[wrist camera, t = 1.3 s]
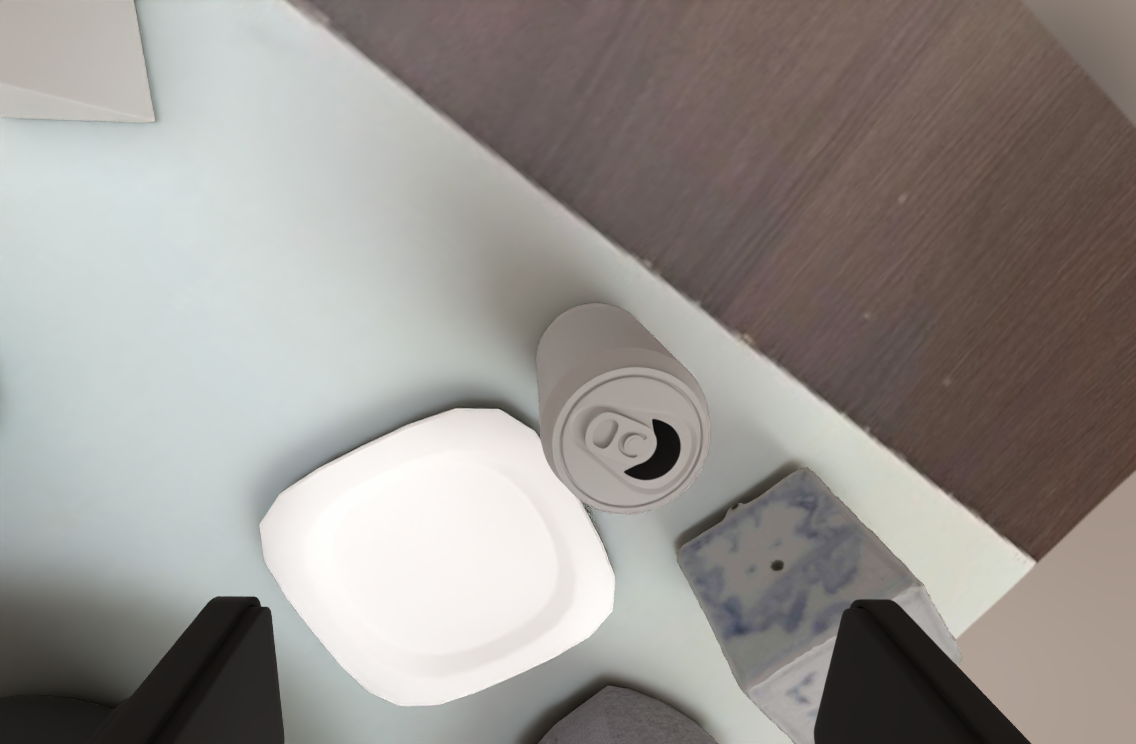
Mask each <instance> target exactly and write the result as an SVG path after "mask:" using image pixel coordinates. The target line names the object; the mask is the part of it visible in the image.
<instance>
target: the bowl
mask: <svg viewBox="0 0 1136 744" xmlns="http://www.w3.org/2000/svg"><path fill="white" fill-rule="evenodd" d="M112 711H113V709H110V708H107V707H104V706H101V705H97V704H94V703H90V702H86V701H81V700H76V699H69V698H62V697H54V696H12V697H4V698H0V744H85V743H86V741H87V740H88V739H89V738H90V737H91V736H92V734H93V733H94V732H95V731H96V730H97V728H98V727H99V726H100V725H101V724H102V722H103V721H104V720H105V719H106V718H107V716H108V715H109V714H110V713H111V712H112Z"/></svg>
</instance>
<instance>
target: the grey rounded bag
mask: <svg viewBox="0 0 1136 744" xmlns="http://www.w3.org/2000/svg"><path fill="white" fill-rule="evenodd" d="M538 744H718V743H717V742H716V741H715V740H714V738H713V737H712V736H710V735H709V734H708V733H707V732H706V731H705V730H704V729H702V728H701V727H700V726H699V725H698V724H697V723H696V722H694V721H693V720H692V719H690V718H688V717H687V716H685V715H684V714H682V713H680V712H679V711H677V710H675V709H674V708H672V707H670V706H669V705H667V704H666V703H664V702H662V701H659V700H657V699H654V698H652V697H649V696H647V695H644V694H642V693H639V692H637V691H634V690H632V689H627V688H621V687H615V686H608V685H607V686H606V687H605V688H603V689H602V690H601V691H599V692H598V693H597V694H595V695H594V696H593V697H591V698H590V699H588V700H587V701H586V702H584V703H583V704H582V705H580V706H579V707H578V708H576V709H575V710H574V711H572V712H571V713H570V714H568V715H567V716H565V717H564V718H563V719H561V720H560V721H559V722H557V723H556V724H555V725H554V726H553V727H552V728H551V729H550V730H549V731H548V732H547V734H546V735H545V736H544V737H543V738H542V739H541V740H540V741H539V742H538Z"/></svg>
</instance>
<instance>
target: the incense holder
mask: <svg viewBox="0 0 1136 744" xmlns="http://www.w3.org/2000/svg"><path fill="white" fill-rule="evenodd" d="M676 555H677V562H678V564H679V566H680V568H681V570H682V572H683V573H684V575H685V577H686V578H687V580H688V582H689V584H690V586H691V588H692V590H693V592H694V594H695V596H696V598H697V600H698V602H699V605H700V607H701V608H702V610H703V611H704V613H705V615H706V617H707V620H708V622H709V624H710V626H711V628H712V630H713V632H714V634H715V637H716V639H717V641H718V642H719V644H720V647H721V649H722V652H723V654H724V656H725V658H726V660H727V661H728V663H729V666H730V668H731V671H732V674H733V676H734V678H735V679H736V681H737V683H738V685H739V687H740V689H741V690H742V691H743V692H744V693H745V694H746V696H747V697H748V698H749V699H750V700H751V701H752V702H753V703H754V704H755V705H756V706H757V707H758V708H759V709H760V710H761V711H762V712H763V713H764V714H765V715H766V716H767V717H768V718H769V719H770V720H771V721H772V722H774V723H775V724H776V725H777V726H778V727H779V728H780V730H782V731H783V732H784V733H785V734H787V736H788V737H789V738H790V739H791V740H792V741H793V743H794V744H815V741H814V726H815V722H816V718H817V714H818V710H819V706H820V702H821V698H822V694H823V690H824V686H825V682H826V678H827V674H828V670H829V666H830V661H831V657H832V653H833V649H834V645H835V641H836V637H837V633H838V629H839V625H840V621H841V617H842V614H843V611H844V610H845V609H848V608H850V606H851V604H852V603H853V602H854V601H855V600H858V599H889V600H892V601H895V602H896V603H897V604H898V605H900V606H901V607H902V609H903V610H904V611H905V612H906V613H907V614H908V615H909V616H910V617H911V618H912V619H913V620H914V621H915V622H916V623H917V624H918V625H919V626H920V627H921V628H922V630H923V631H924V632H925V633H926V634H927V635H928V636H929V637H930V638H931V639H932V640H933V641H934V642H935V643H936V644H937V645H938V646H939V647H940V648H941V649H942V651H943V652H944V653H945V654H946V655H947V656H948V657H949V658H950V659H951V660H952V661H953V662H954V663H955V664H956V665H959V664H960V663H961V661H962V658H963V657H962V653H961V651H960V649H959V646H958V644H957V642H956V639H955V638H954V637H953V636H952V635H951V633H950V632H949V630H948V627H947V626H946V624H945V622H944V620H943V619H942V617H941V615H940V614H939V613H938V611H937V608H936V607H935V605H934V603H933V602H932V600H931V597H930V595H929V594H928V593H927V590H926V588H925V586H924V584H923V583H922V582H920V581H919V580H918V579H917V578H916V577H915V576H914V575H913V574H912V572H911V571H910V570H909V569H908V568H907V566H906V565H905V564H904V563H903V562H902V561H901V560H900V559H898V558H897V557H896V556H895V555H894V554H893V553H892V552H891V550H890V549H888V547H887V546H886V545H885V544H884V543H883V542H882V541H881V540H880V539H879V538H878V537H877V536H876V535H875V534H874V533H873V532H872V531H871V530H870V529H869V528H867V527H866V526H865V525H864V524H863V523H862V522H861V521H860V520H859V519H858V518H857V516H856V515H855V514H854V513H853V512H852V511H851V510H850V508H848V507H847V506H846V505H845V504H844V503H843V502H842V501H841V500H840V499H839V497H836V496H835V495H834V494H833V493H832V492H831V491H830V489H829V488H828V487H827V486H826V485H825V483H824V482H822V480H821V479H820V478H819V477H818V476H817V475H816V474H815V473H814V472H813V471H811V470H810V469H809V468H808V467H806V468H801V469H798V470H796V471H794V472H793V473H791V474H790V475H788V476H787V477H785V478H784V479H782V480H781V481H780V482H778V483H777V484H775V485H774V486H772V487H771V488H770V489H769V490H767V491H766V492H765V493H763V494H762V495H761V496H759V497H757V498H756V499H754V500H752V501H751V502H748V503H746V504H742V503H737V504H735V505H732V506H731V507H730V508H729V510H728V511H727V513H726V517H725V518H724V519H723V521H721V522H719V523H718V524H716V525H715V526H713V527H712V528H710V529H708V530H706V531H704V532H703V533H701V534H700V535H699V536H697V537H696V538H694V539H692V540H690V541H689V542H687V543H686V544H684V545H682V547H681V548H680V549H679V550H678V551H677V552H676Z"/></svg>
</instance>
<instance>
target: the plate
mask: <svg viewBox="0 0 1136 744" xmlns="http://www.w3.org/2000/svg"><path fill="white" fill-rule="evenodd" d="M259 527H260V534H261V542H262V549H263V557H264V562H265V563H266V565H267V567H268V568H269V570H270V572H271V573H272V575H273V577H274V578H275V580H276V582H277V583H278V585H279V587H280V588H281V590H282V592H283V593H284V595H285V597H286V598H287V599H288V601H289V602H290V603H291V605H292V606H293V607H294V608H295V610H296V611H297V612H298V614H299V615H300V616H301V617H302V619H303V620H304V621H305V623H306V624H307V625H308V626H309V628H310V629H311V630H312V632H313V633H314V634H315V635H316V637H317V638H318V639H319V640H320V641H321V643H322V644H323V645H324V646H325V647H326V649H327V650H328V651H329V652H330V654H331V655H332V656H333V657H334V658H335V660H336V661H337V662H338V663H339V664H340V665H341V666H342V667H343V668H344V669H345V670H346V671H347V672H348V673H349V674H350V675H351V676H352V677H353V678H354V679H355V680H356V681H357V682H358V683H359V684H360V685H361V686H362V687H363V688H365V689H366V690H367V691H368V692H370V693H372V694H374V695H376V696H379V697H381V698H383V699H385V700H387V701H390V702H392V703H394V704H396V705H398V706H430V705H440V704H443V703H446V702H449V701H452V700H455V699H458V698H461V697H465V696H468V695H471V694H474V693H477V692H479V691H481V690H484V689H486V688H488V687H491V686H493V685H495V684H498V683H500V682H502V681H505V680H507V679H509V678H511V677H514V676H516V675H518V674H520V673H522V672H525V671H527V670H529V669H531V668H533V667H535V666H537V665H540V664H542V663H544V662H546V661H548V660H550V659H552V658H554V657H556V656H558V655H560V654H561V653H563V652H565V651H566V650H568V649H570V648H572V647H573V646H575V645H577V644H578V643H580V642H582V641H583V640H585V639H587V638H589V637H590V636H591V635H592V634H593V633H594V632H595V631H596V629H597V628H598V627H599V626H600V625H601V624H602V622H603V621H604V620H605V619H606V618H607V617H608V615H609V614H610V613H611V612H612V611H613V602H614V591H615V579H616V578H615V576H614V573H613V570H612V567H611V565H610V562H609V559H608V556H607V554H606V551H605V548H604V545H603V543H602V540H601V538H600V537H599V535H598V533H597V531H596V529H595V527H594V525H593V523H592V521H591V519H590V517H589V515H588V514H587V512H586V510H585V508H584V506H583V504H582V502H581V500H579V499H578V498H577V497H576V496H574V495H573V494H572V493H571V492H570V491H569V489H568V488H567V487H566V486H565V485H564V484H563V483H562V482H561V481H560V480H559V479H558V478H557V477H556V476H555V474H554V473H553V471H552V470H551V468H550V466H549V465H548V462H547V460H546V458H545V455H544V452H543V448H542V444H541V438H540V437H539V435H538V434H537V433H536V431H535V430H534V429H532V428H530V427H529V426H527V425H526V424H524V423H523V422H521V421H519V420H518V419H516V418H515V417H513V416H511V415H510V414H508V413H507V412H505V411H504V410H502V409H500V408H468V407H456V408H453V409H450V410H447V411H444V412H441V413H438V414H435V415H432V416H429V417H426V418H423V419H420V420H417V421H414V422H412V423H409V424H407V425H405V426H403V427H400V428H398V429H396V430H394V431H392V432H390V433H388V434H386V435H383V436H381V437H379V438H377V439H375V440H373V441H371V442H368V443H366V444H364V445H362V446H360V447H358V448H356V449H354V450H352V451H350V452H348V453H346V454H344V455H342V456H340V457H338V458H336V459H334V460H332V461H330V462H328V463H326V464H325V465H323V466H321V467H319V468H317V469H316V470H314V471H313V472H311V473H310V474H308V475H307V476H305V477H304V478H302V479H301V480H299V481H298V482H296V483H295V484H293V485H292V486H290V487H288V488H287V489H285V490H284V491H282V492H281V493H280V494H279V495H278V497H277V499H276V500H275V502H274V503H273V505H272V506H271V508H270V509H269V511H268V512H267V514H266V515H265V517H264V519H263V520H262V522H261V523H260V525H259Z"/></svg>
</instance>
